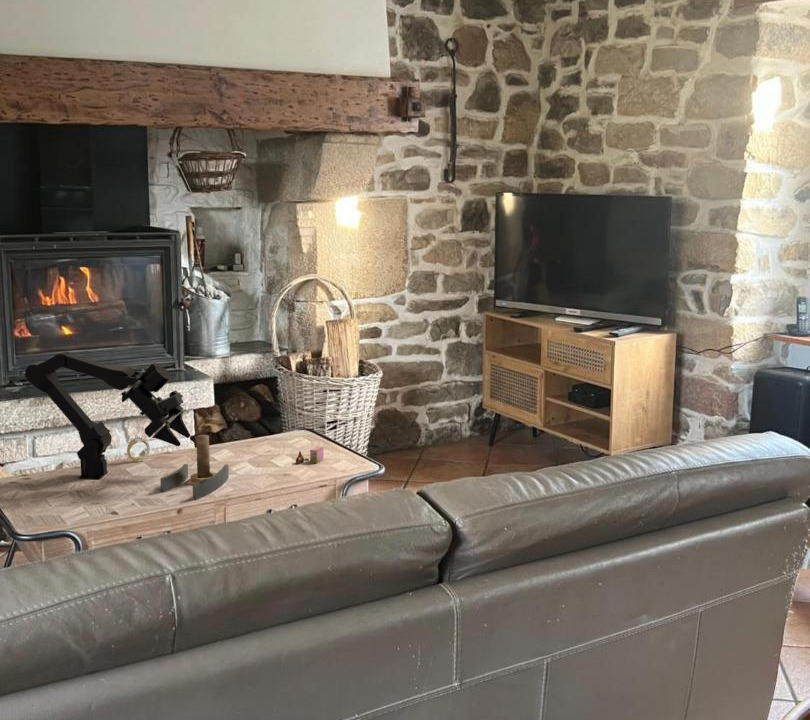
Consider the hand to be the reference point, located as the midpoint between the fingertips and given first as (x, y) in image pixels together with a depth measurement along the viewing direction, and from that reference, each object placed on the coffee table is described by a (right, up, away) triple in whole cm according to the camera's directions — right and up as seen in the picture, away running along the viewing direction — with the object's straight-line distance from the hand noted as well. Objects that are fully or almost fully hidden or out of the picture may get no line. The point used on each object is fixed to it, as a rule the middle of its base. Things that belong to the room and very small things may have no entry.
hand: (184, 441), depth 283 cm
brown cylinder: (+5, -11, +2) cm, 13 cm away
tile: (+5, -12, +2) cm, 13 cm away
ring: (-19, -8, +20) cm, 28 cm away
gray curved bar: (+3, -13, -5) cm, 14 cm away
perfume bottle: (+35, -9, +20) cm, 42 cm away
